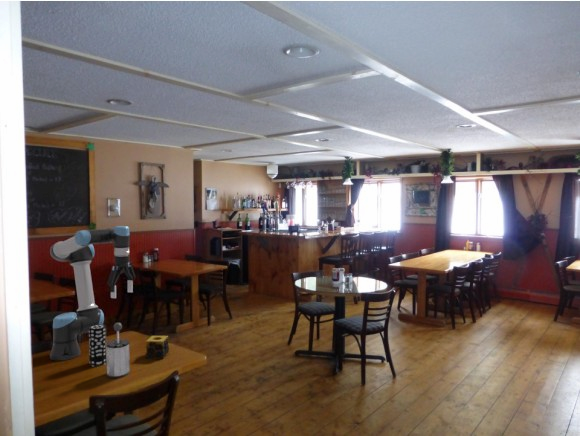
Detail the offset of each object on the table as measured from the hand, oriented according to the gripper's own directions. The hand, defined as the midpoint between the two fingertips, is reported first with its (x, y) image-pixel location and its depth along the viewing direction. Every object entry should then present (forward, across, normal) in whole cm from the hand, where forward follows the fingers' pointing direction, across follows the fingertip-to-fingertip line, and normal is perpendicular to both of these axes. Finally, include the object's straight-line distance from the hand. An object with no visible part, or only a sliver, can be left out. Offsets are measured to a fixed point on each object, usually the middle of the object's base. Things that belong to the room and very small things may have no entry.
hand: (122, 295), depth 224 cm
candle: (+38, +16, -11) cm, 43 cm away
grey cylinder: (+37, -10, -6) cm, 39 cm away
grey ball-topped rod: (+36, -11, -6) cm, 38 cm away
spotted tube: (+38, -3, +13) cm, 40 cm away
